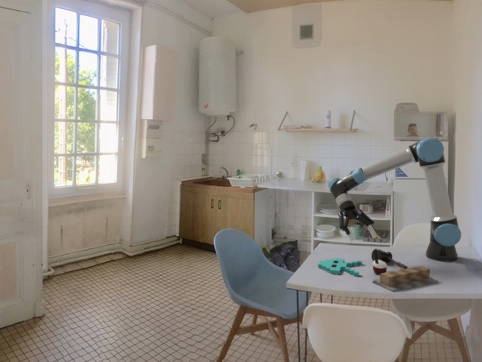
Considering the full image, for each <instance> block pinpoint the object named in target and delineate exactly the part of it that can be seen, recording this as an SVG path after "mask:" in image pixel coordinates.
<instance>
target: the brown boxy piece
mask: <svg viewBox="0 0 482 362" xmlns="http://www.w3.org/2000/svg"><path fill="white" fill-rule="evenodd" d="M438 282H439V281H438V279H435V278H432V277H431V270H430V268H428V267H424V266H415V267H409V268H408V267H407V269H404V268H402V269H397V270H393V271H386V273H381V274H380V275H379V279H375V280H374V279H373V280H372V283H373V284H376V285H377V286H380V287H381V288H383V289H386V290H388V291H390V292H392V293H393V292H397V291H401V290H402V291H403V290H408V289H412V288H416V287H417V288H418V287H422V286H426V285H430V284H436V283H438Z"/></svg>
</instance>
